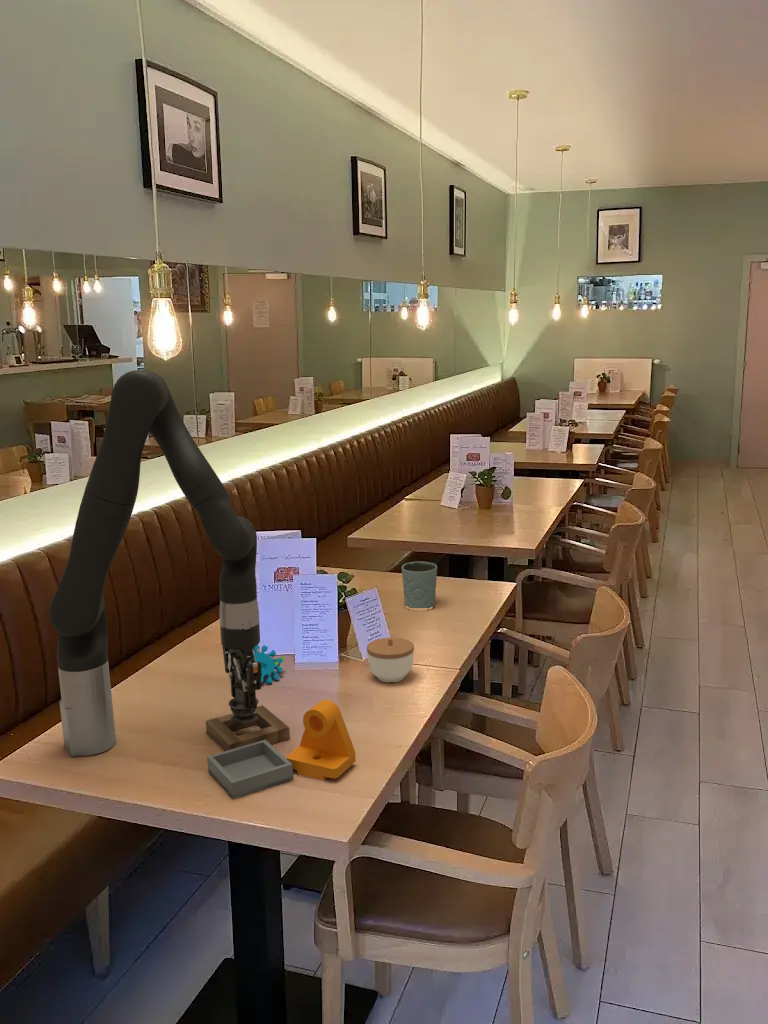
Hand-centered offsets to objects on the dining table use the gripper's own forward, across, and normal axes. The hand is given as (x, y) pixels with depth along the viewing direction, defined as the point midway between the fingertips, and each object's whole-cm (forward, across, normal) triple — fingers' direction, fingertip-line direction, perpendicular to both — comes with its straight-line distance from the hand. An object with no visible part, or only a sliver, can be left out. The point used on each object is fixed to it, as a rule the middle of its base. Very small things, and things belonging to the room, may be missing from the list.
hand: (243, 701), depth 175 cm
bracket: (+7, +20, +6) cm, 22 cm away
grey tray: (+7, +15, -6) cm, 18 cm away
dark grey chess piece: (+4, 0, 0) cm, 4 cm away
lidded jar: (+7, -8, +39) cm, 41 cm away
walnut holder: (+7, 0, 0) cm, 7 cm away
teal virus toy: (+8, -24, +15) cm, 30 cm away
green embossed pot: (+7, -46, +73) cm, 87 cm away
